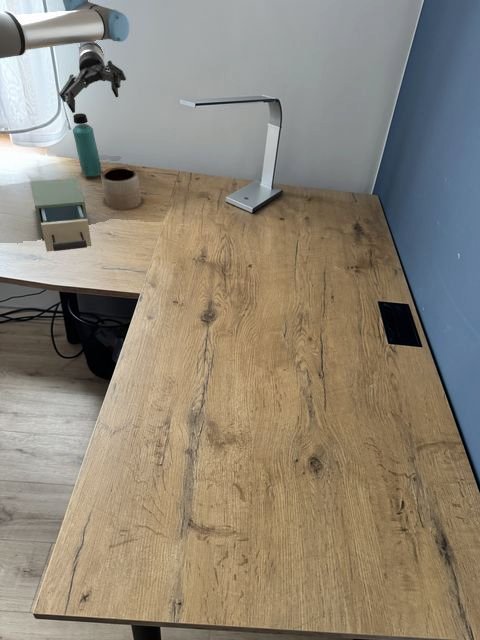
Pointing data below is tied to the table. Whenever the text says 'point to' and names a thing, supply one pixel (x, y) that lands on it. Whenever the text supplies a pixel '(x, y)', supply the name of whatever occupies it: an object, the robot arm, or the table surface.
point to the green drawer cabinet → (56, 196)
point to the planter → (121, 188)
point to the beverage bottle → (86, 146)
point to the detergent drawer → (65, 228)
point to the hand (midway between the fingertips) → (93, 100)
